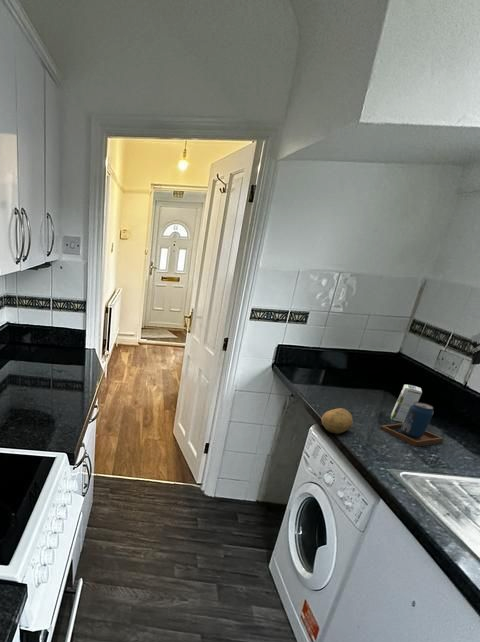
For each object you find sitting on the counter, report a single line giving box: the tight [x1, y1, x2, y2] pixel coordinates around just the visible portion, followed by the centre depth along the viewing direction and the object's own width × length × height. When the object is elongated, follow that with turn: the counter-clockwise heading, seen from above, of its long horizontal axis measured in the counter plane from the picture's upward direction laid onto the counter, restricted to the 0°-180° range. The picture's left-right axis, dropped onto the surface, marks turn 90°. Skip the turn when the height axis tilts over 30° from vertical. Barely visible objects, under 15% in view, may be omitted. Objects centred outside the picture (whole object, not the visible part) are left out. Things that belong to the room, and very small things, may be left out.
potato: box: [321, 407, 354, 435], centre depth 151 cm, size 10×14×8 cm
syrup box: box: [390, 384, 423, 423], centre depth 162 cm, size 6×6×14 cm
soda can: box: [400, 401, 434, 439], centre depth 149 cm, size 7×7×12 cm
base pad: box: [379, 422, 444, 447], centre depth 151 cm, size 14×14×2 cm
